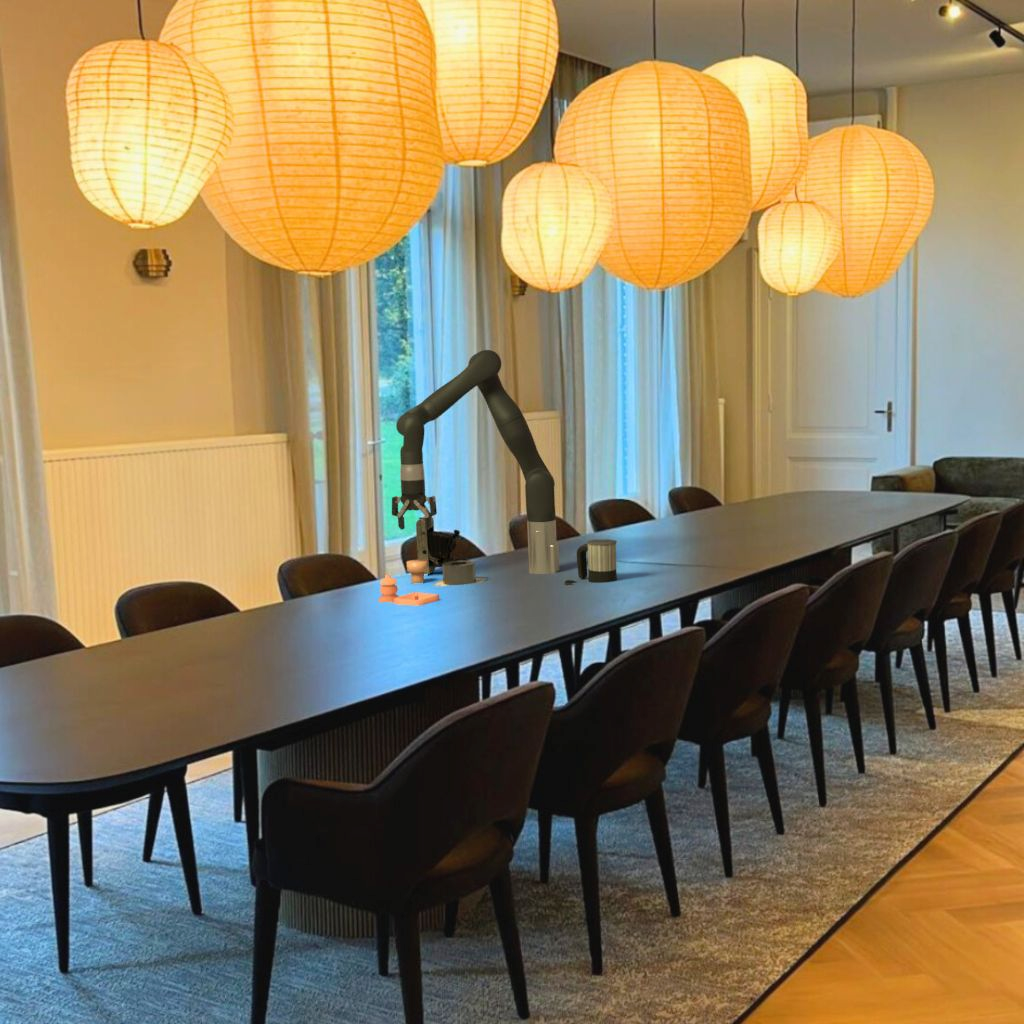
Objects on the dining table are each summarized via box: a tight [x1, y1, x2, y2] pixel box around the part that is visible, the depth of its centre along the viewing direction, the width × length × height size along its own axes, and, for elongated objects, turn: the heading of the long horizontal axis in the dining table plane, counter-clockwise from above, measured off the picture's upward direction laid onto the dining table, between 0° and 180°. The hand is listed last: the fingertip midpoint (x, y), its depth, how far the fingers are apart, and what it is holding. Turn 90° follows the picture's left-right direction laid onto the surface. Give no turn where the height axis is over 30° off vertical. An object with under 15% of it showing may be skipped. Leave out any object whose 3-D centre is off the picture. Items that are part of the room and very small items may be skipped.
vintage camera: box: [415, 515, 470, 575], centre depth 435 cm, size 10×15×20 cm, turn 78°
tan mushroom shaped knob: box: [406, 559, 427, 584], centre depth 417 cm, size 6×6×8 cm
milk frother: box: [563, 538, 618, 586], centre depth 398 cm, size 14×16×15 cm
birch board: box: [431, 577, 488, 587], centre depth 414 cm, size 14×14×2 cm
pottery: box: [377, 573, 440, 607], centre depth 383 cm, size 18×10×10 cm, turn 56°
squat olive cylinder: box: [441, 560, 477, 586], centre depth 413 cm, size 10×10×6 cm
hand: (414, 529), depth 416 cm, fingers open, 8 cm apart
